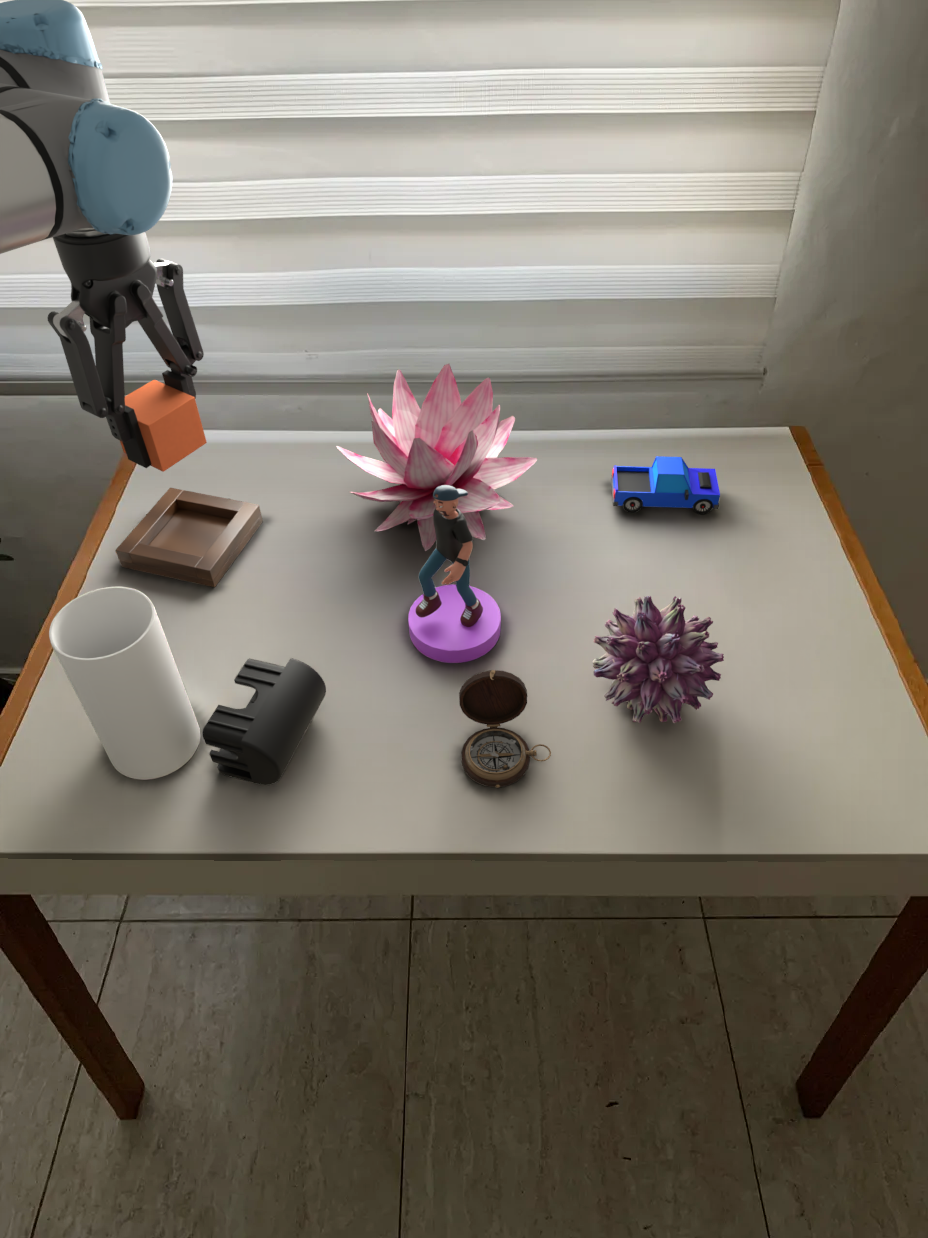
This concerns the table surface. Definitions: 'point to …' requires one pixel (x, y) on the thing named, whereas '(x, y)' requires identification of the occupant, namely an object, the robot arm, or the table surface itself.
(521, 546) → the table surface
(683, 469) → the toy car
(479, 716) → the compass
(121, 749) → the cup
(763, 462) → the table surface
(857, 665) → the table surface
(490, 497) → the decorative flower
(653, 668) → the flower
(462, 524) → the figurine
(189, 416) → the orange cube
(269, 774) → the end cap
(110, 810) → the table surface
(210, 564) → the brown wooden tray
